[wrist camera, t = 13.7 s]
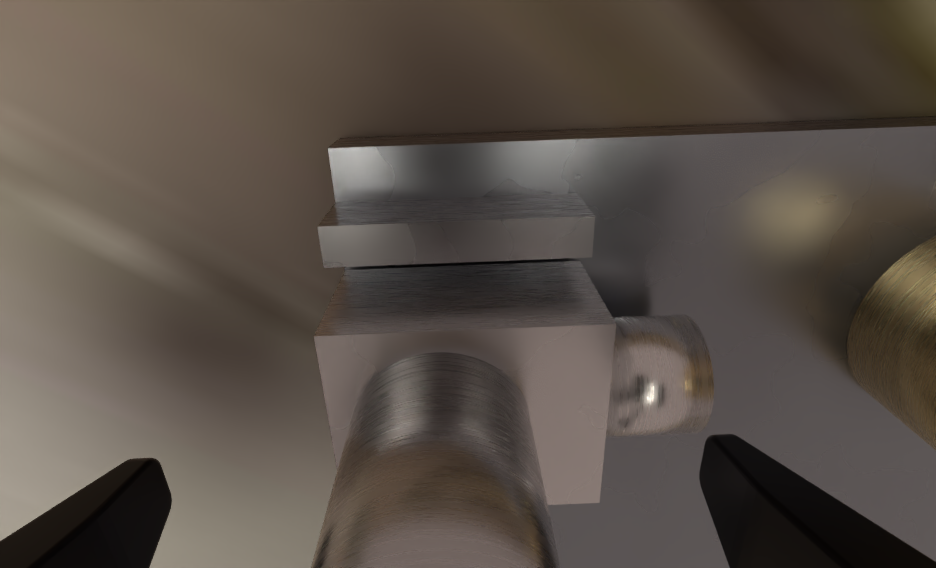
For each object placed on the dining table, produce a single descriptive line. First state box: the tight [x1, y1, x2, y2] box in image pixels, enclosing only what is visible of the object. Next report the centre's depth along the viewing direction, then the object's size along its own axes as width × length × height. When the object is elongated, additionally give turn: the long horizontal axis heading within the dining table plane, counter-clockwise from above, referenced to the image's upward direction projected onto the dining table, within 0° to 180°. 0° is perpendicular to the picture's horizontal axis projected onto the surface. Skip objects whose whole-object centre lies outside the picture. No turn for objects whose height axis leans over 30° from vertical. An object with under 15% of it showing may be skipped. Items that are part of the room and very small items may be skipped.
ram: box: [311, 261, 714, 568], centre depth 8 cm, size 4×7×8 cm, turn 92°
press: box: [317, 116, 936, 568], centre depth 12 cm, size 15×18×6 cm
